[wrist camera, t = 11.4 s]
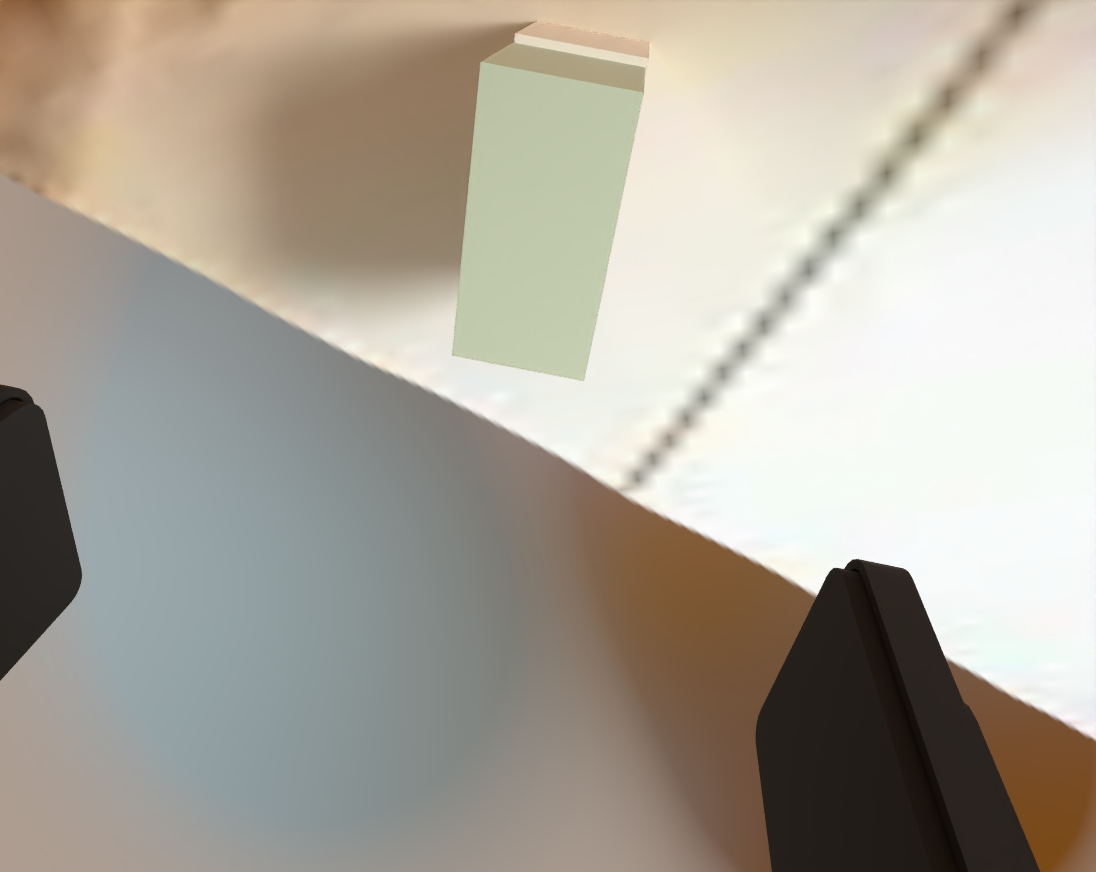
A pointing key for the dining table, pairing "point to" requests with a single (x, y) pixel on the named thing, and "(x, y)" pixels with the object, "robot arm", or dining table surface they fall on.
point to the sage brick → (543, 205)
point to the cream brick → (585, 43)
